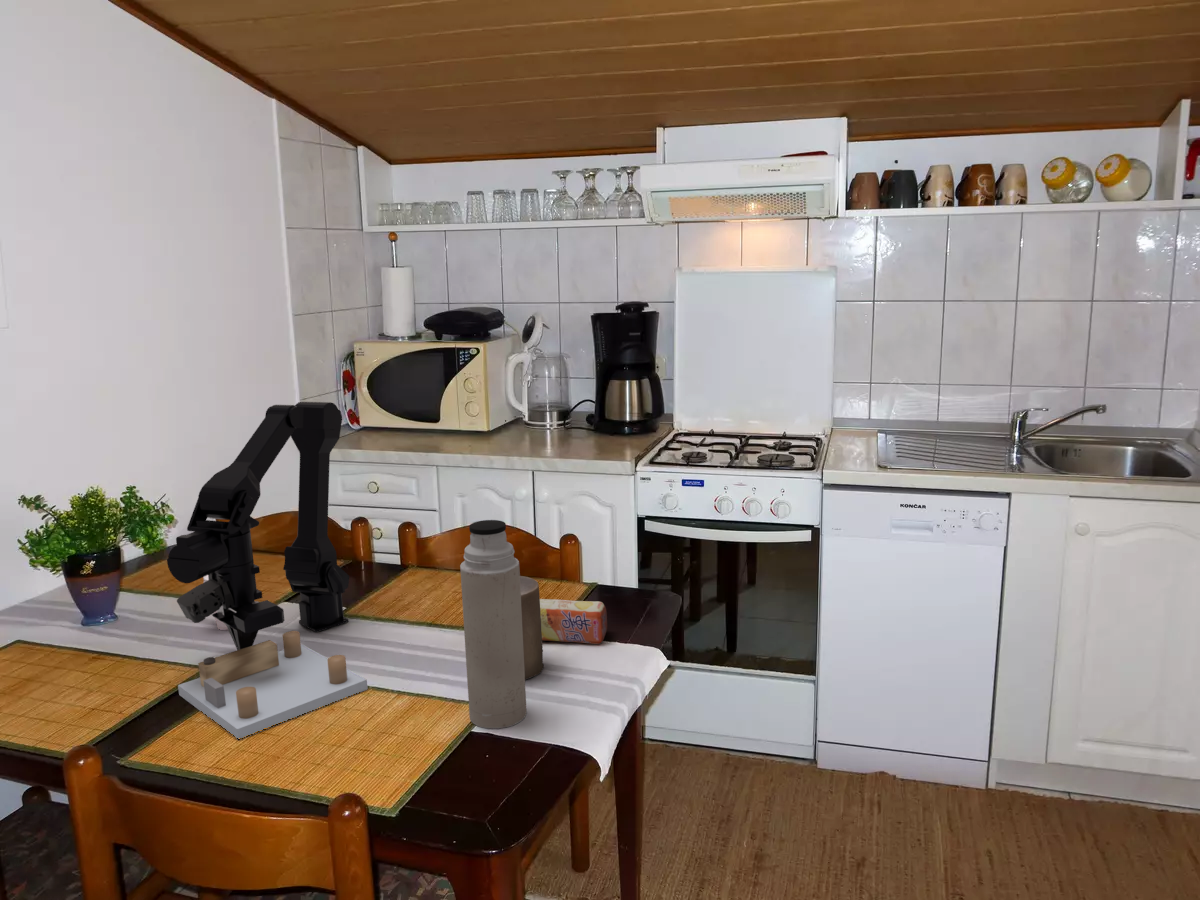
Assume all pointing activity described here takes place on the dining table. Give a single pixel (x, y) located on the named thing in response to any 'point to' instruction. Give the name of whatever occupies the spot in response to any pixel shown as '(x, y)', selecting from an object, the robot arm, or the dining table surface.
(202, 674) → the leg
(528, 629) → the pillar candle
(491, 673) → the thermos bottle
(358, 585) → the dining table surface
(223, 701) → the grey peg board
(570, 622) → the snack package
